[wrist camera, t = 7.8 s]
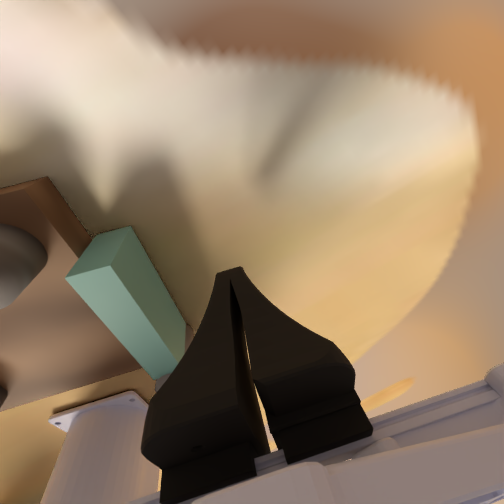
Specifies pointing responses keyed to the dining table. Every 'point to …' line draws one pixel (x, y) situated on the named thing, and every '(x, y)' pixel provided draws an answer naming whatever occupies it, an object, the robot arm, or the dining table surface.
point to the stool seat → (47, 302)
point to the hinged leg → (132, 301)
